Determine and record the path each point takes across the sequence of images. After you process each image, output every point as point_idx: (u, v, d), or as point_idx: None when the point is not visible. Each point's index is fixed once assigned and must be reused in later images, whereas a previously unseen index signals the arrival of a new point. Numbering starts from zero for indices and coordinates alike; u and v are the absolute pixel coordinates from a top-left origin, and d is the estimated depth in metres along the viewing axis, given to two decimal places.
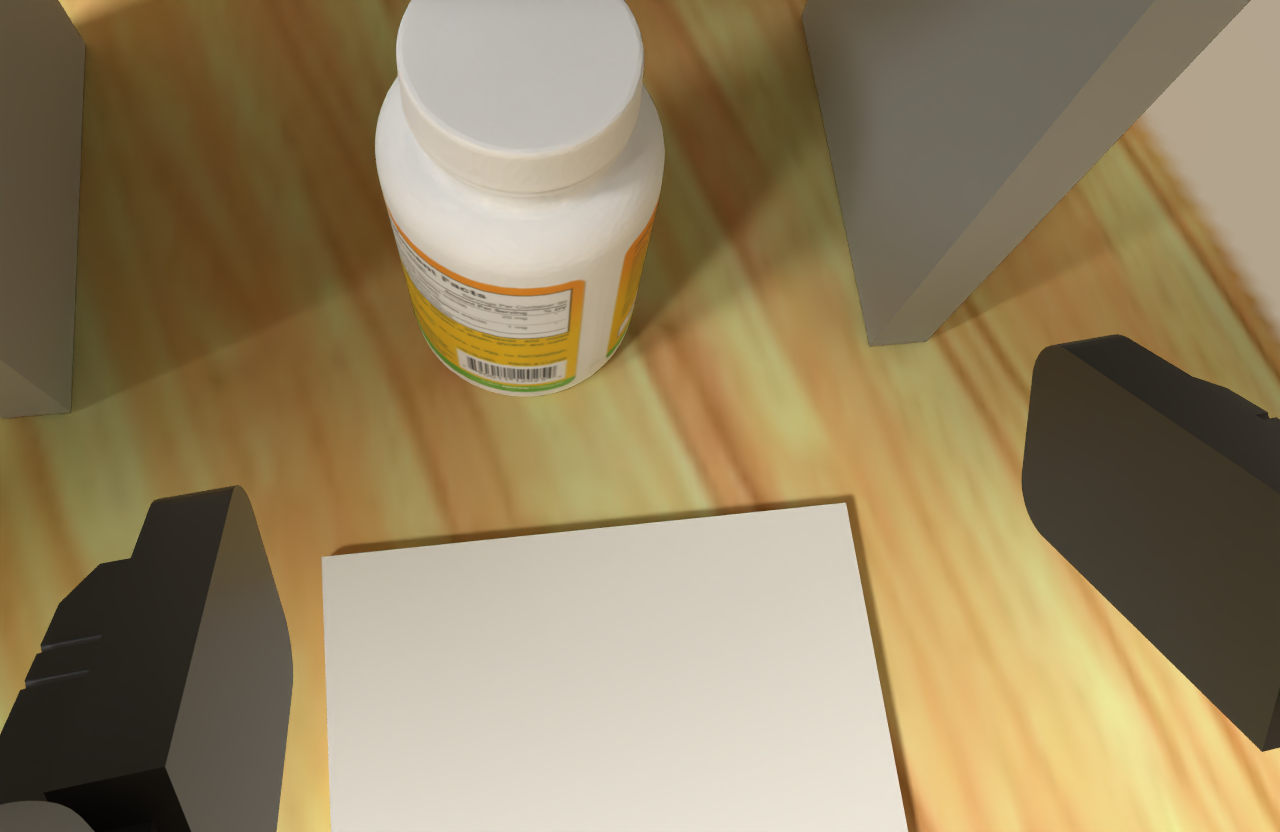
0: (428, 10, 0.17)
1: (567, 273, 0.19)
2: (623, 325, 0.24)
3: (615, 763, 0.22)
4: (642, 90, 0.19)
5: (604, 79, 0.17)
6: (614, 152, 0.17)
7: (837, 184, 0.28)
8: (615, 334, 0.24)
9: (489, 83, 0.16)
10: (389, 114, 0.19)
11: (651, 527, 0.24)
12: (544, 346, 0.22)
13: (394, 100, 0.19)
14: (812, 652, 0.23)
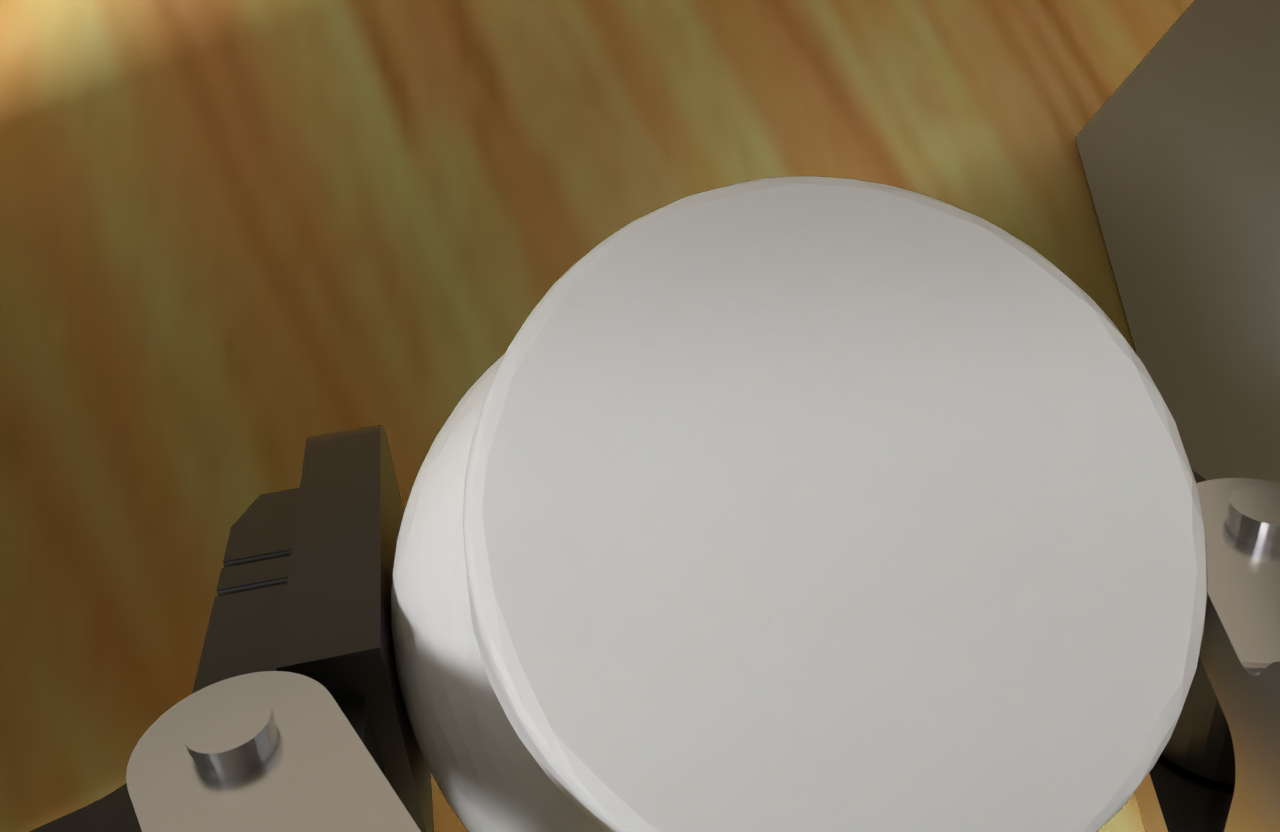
0: (561, 388, 0.05)
1: None
2: None
3: None
4: None
5: (1108, 611, 0.05)
6: None
7: None
8: None
9: (760, 644, 0.05)
10: (428, 551, 0.07)
11: None
12: None
13: (440, 512, 0.07)
14: None
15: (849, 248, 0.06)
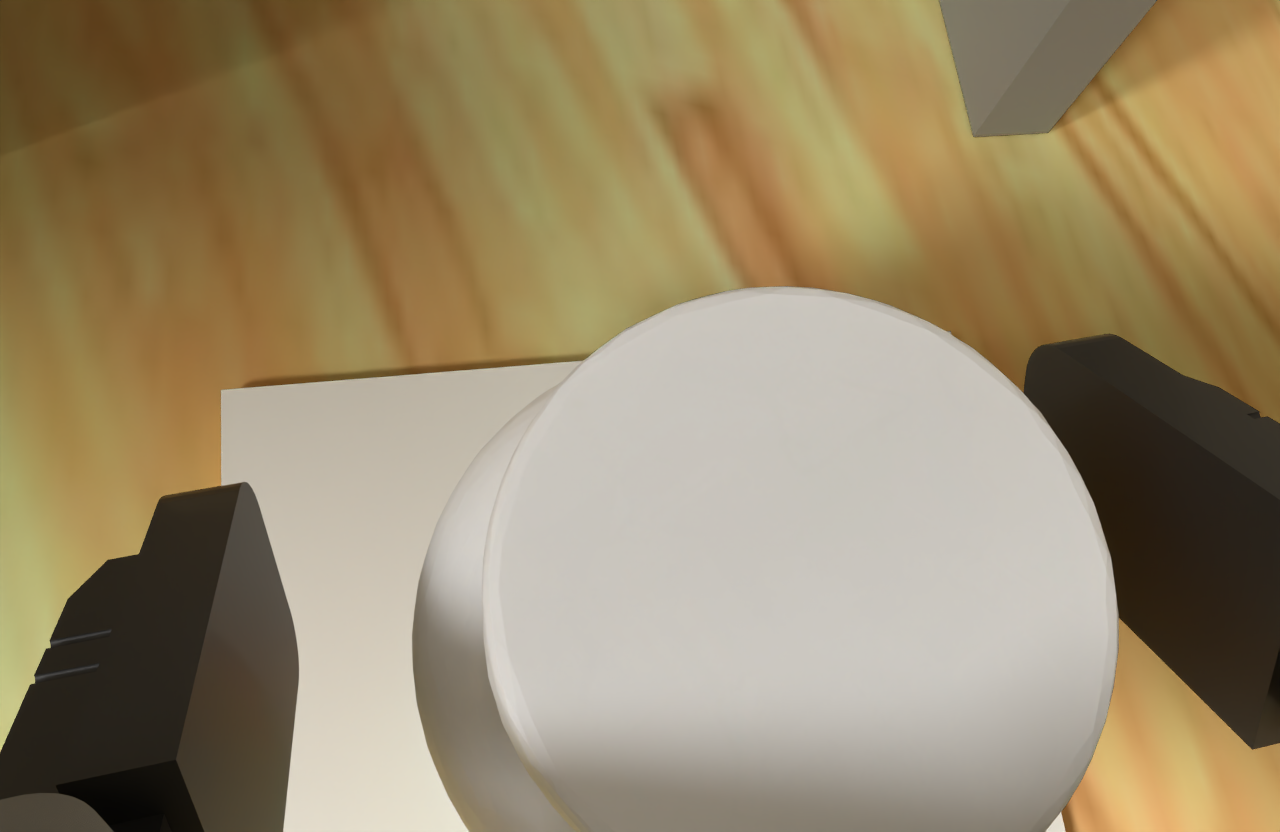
0: (565, 478, 0.06)
1: None
2: None
3: None
4: None
5: (1032, 670, 0.06)
6: None
7: None
8: None
9: (734, 700, 0.06)
10: (446, 600, 0.08)
11: None
12: None
13: (457, 565, 0.08)
14: None
15: (814, 351, 0.07)
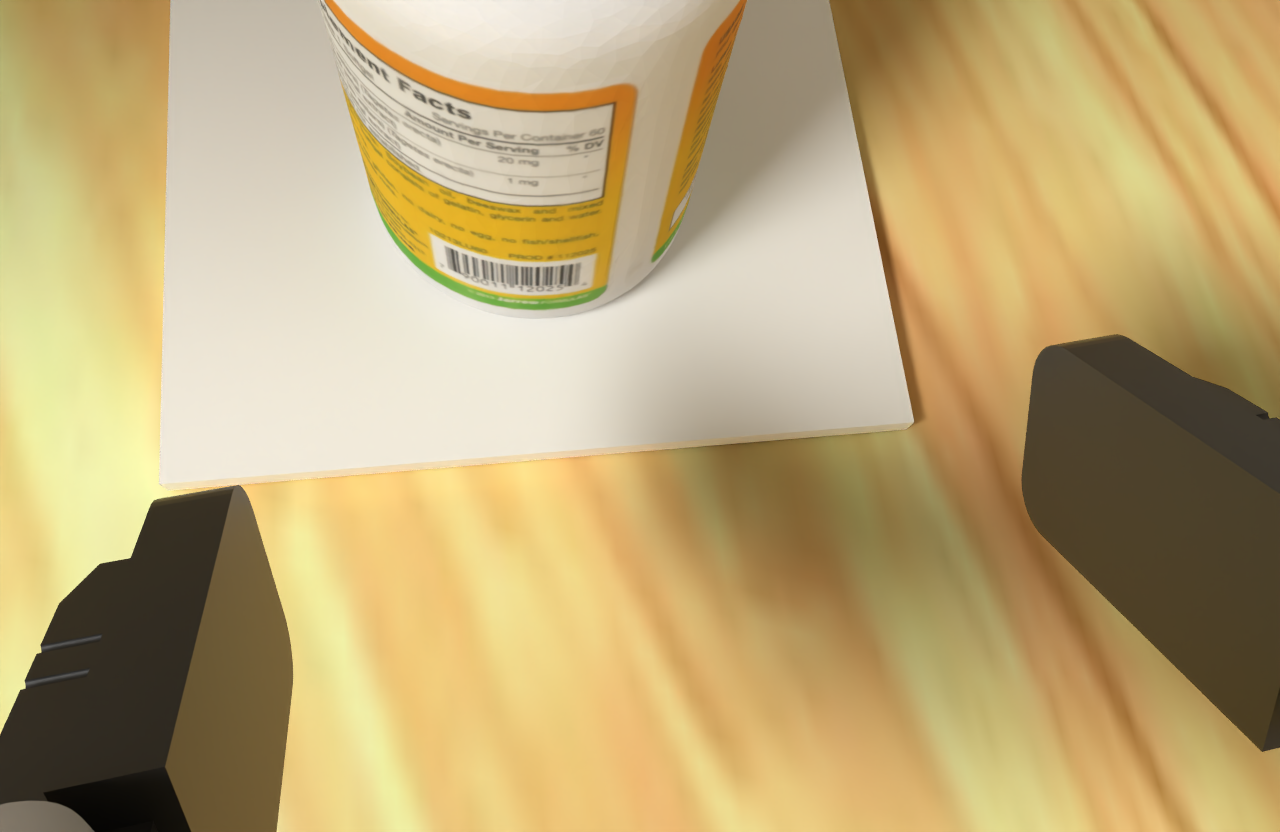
0: None
1: (609, 65, 0.11)
2: (679, 210, 0.16)
3: None
4: None
5: None
6: None
7: None
8: (667, 222, 0.16)
9: None
10: None
11: None
12: (565, 222, 0.14)
13: None
14: (771, 82, 0.19)
15: None
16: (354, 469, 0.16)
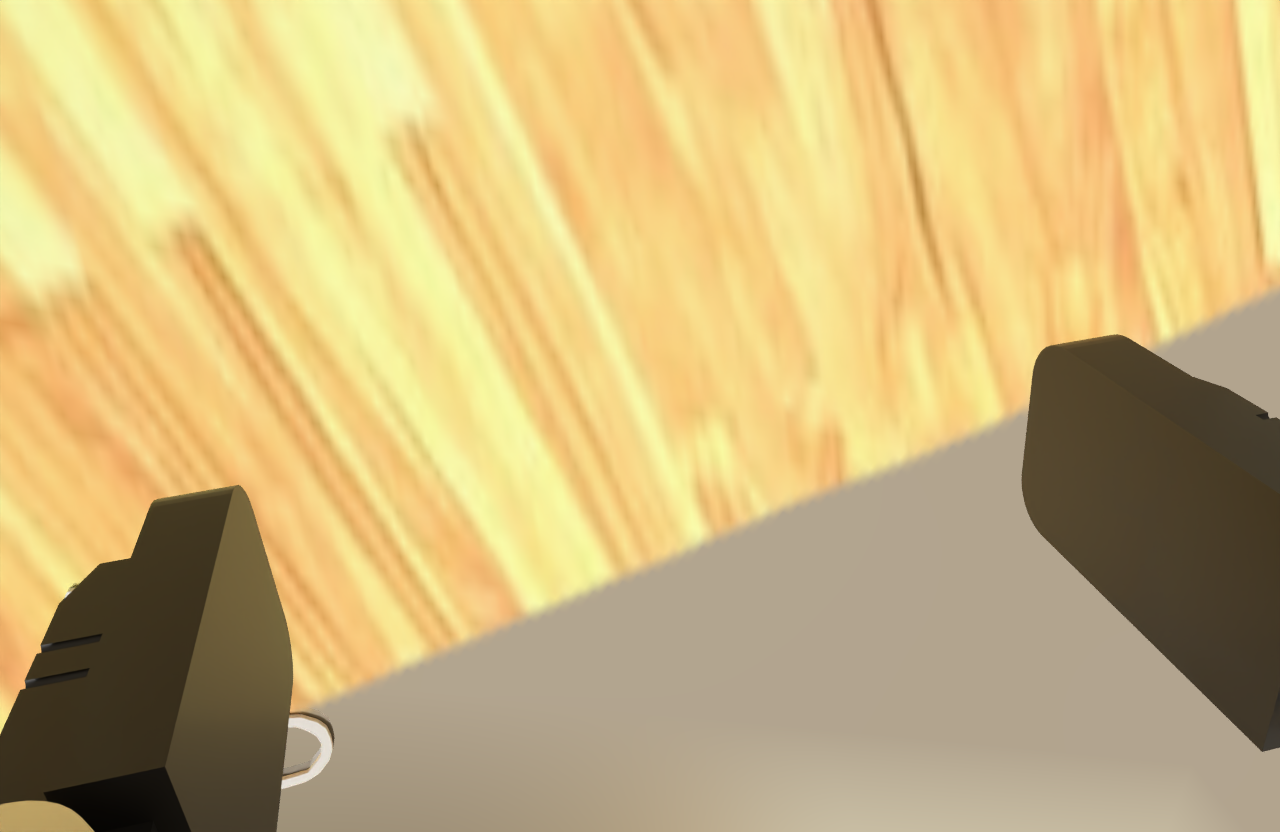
0: None
1: None
2: None
3: None
4: None
5: None
6: None
7: None
8: None
9: None
10: None
11: None
12: None
13: None
14: None
15: None
16: None
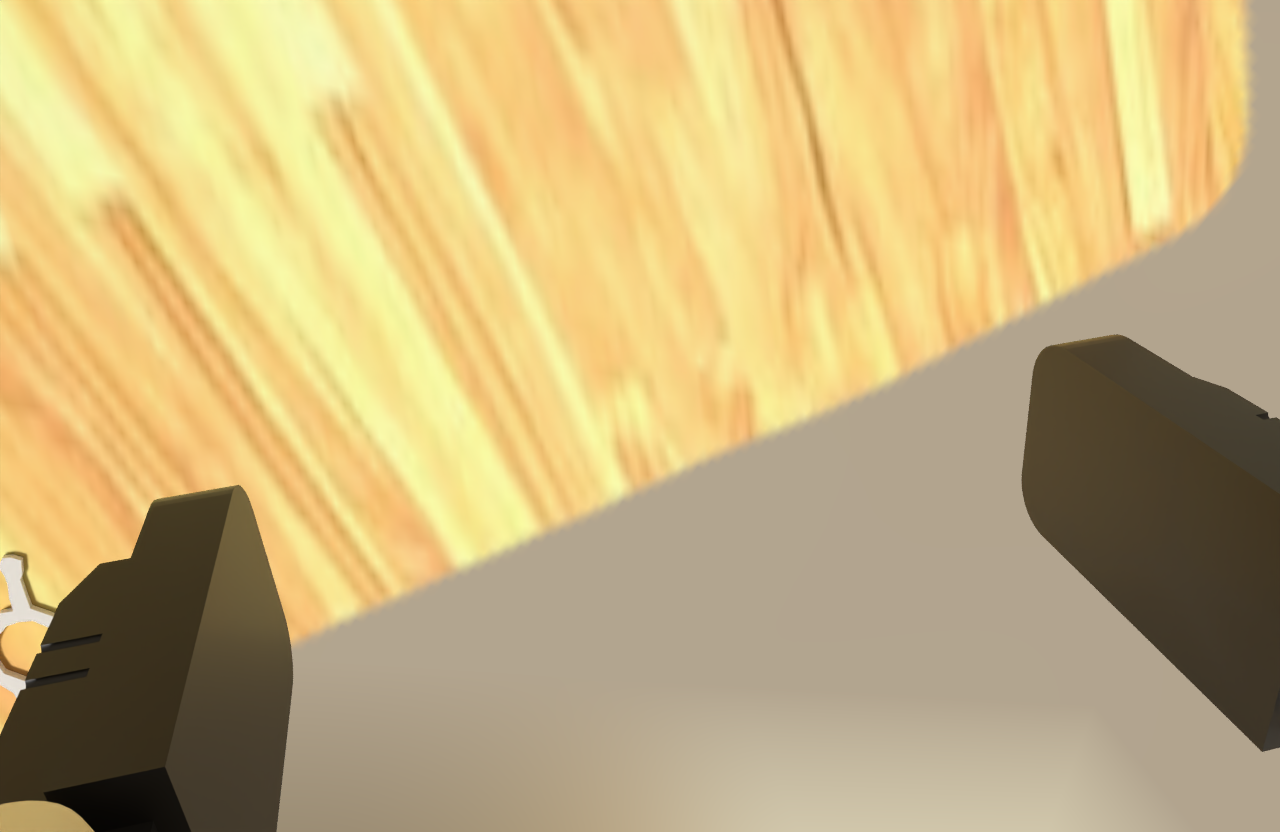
0: None
1: None
2: None
3: None
4: None
5: None
6: None
7: None
8: None
9: None
10: None
11: None
12: None
13: None
14: None
15: None
16: None
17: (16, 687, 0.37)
